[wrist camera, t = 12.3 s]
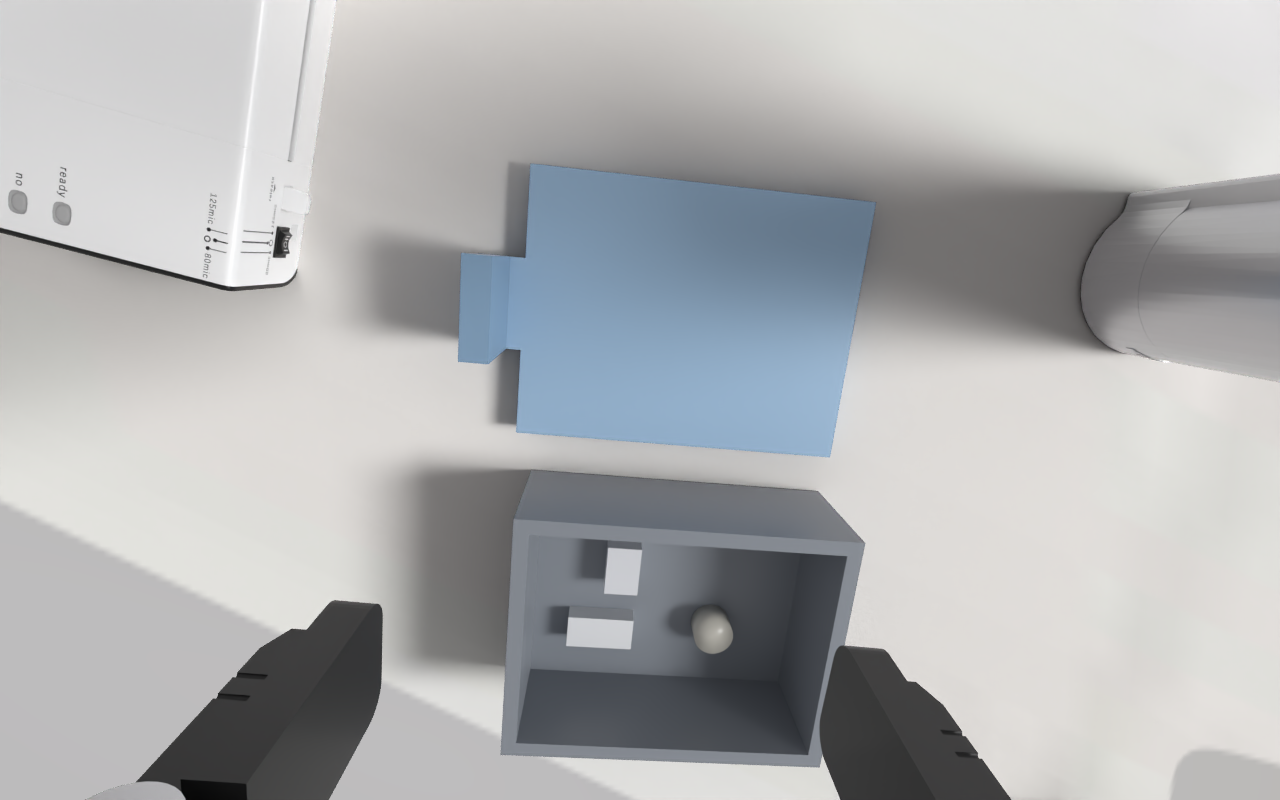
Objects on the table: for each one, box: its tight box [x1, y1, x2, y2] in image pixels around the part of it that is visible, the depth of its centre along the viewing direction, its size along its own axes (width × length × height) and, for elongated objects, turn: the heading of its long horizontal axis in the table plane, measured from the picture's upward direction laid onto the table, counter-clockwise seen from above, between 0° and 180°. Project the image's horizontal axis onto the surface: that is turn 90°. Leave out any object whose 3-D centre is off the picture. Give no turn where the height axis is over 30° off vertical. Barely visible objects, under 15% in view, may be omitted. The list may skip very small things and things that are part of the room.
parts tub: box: [501, 470, 865, 767], centre depth 35 cm, size 14×18×7 cm
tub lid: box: [458, 164, 876, 457], centre depth 31 cm, size 15×21×7 cm
